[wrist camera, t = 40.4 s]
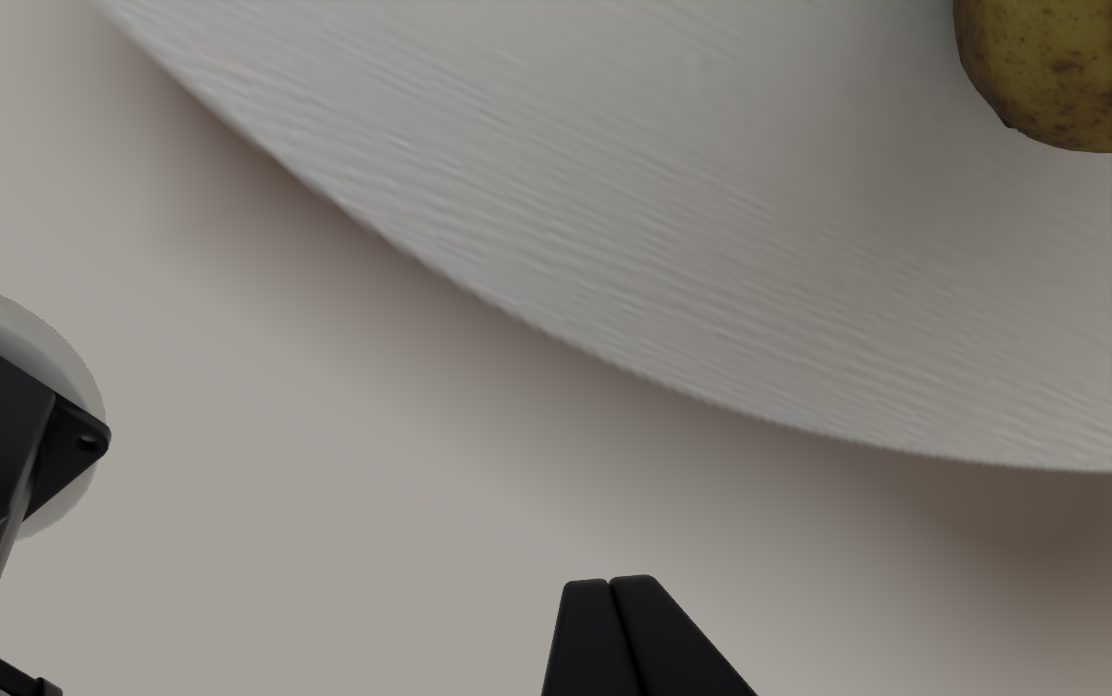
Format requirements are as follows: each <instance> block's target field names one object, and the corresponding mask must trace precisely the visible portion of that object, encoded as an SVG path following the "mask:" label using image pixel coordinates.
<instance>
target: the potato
mask: <svg viewBox="0 0 1112 696" xmlns="http://www.w3.org/2000/svg"><path fill="white" fill-rule="evenodd" d="M953 17H954V26H955V34H956V41H957V46H958V51H959V56H960V61H961V64H962V66H963V68H964V70H965V72H966V73H967V75H968V77H969V79H970V81H971V82H972V84H973V85H974V87H975V88H976V90H977V91H978V92H979V93H980V95H981V96H982V97H983V98H984V99H985V100H986V101H987V103H988V104H989V105H990V106H991V107H992V108H993V110H994V111H995V112H996V114H997V115H998V117H999V118H1000V119H1001V121H1002V122H1003V123H1004V125H1005V126H1006V127H1007V128H1013V129H1017V130H1018V132H1021V133H1023V134H1024V135H1026V136H1027V137H1029V138H1031V139H1033V140H1036V141H1039V142H1042V143H1045V144H1047V145H1050V146H1053V147H1057V148H1062V149H1066V150H1071V151H1082V152H1093V153H1112V0H953Z"/></svg>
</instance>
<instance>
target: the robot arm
mask: <svg viewBox="0 0 1112 696" xmlns="http://www.w3.org/2000/svg"><path fill="white" fill-rule="evenodd" d="M81 436H89V437H91V438H94V439H95V440H96V441H86V440H83V439H82V438H81ZM110 441H111V431H110V429H109V427H108V426H107V425H106V424H105V423H103V422H102V421H100V420H99V419H97V418H96V417H94V416H93V415H91V414H90V413H88V412H86V411H85V410H83V409H82V408H80V407H79V406H77V405H76V404H74V403H73V402H71V401H69V400H68V399H66V398H65V397H63V396H62V395H60V394H59V393H57V392H56V391H54V390H52V389H51V388H49V387H48V386H46V385H45V384H43V383H42V382H40V381H39V380H37V379H36V378H34V377H32V376H31V375H29V374H28V373H26V372H25V371H23V370H22V369H20V368H19V367H17V366H15V365H14V364H12V363H11V362H9V361H8V360H6V359H5V358H3V357H2V356H0V578H1V575H2V572H3V570H4V567H5V564H6V562H7V559H8V557H9V554H10V551H11V549H12V546H13V544H14V541H15V538H16V536H17V533H18V531H19V528H20V525H21V523H22V522H24V521H25V520H26V519H27V518H28V517H30V516H31V515H32V514H33V513H34V512H36V511H37V510H38V509H39V508H40V507H42V506H43V505H44V504H45V503H46V502H48V501H49V500H50V499H51V498H53V497H54V496H55V495H56V494H57V493H59V492H60V491H61V490H62V489H63V488H65V487H66V486H67V485H68V484H69V483H71V482H72V481H73V480H74V479H76V478H77V477H78V476H79V475H80V474H82V473H83V472H84V471H85V470H86V469H88V468H89V467H90V466H91V465H92V464H94V463H95V462H96V461H97V460H99V459H100V458H101V457H102V456H103V455H104V454H105V453H106V451H107V450H108V447H109V444H110ZM0 696H63V693H62V689H60V688H59V687H57V686H55V685H54V684H52V683H51V682H49V681H47V680H45V679H44V678H42V677H39V678H36V679H34V678H32V677H30V676H29V675H27V674H25V673H24V672H22V671H20V670H19V669H17V668H15V667H14V666H12V665H10V664H9V663H7V662H5V661H3V660H1V659H0ZM541 696H758V695H757V694H756V693H755V692H754V691H753V690H752V689H751V687H750V686H749V685H748V684H747V683H746V682H745V681H744V679H743V678H742V677H741V676H740V675H739V674H738V672H737V671H736V670H735V669H734V668H733V667H732V666H731V664H730V663H729V662H728V661H727V660H726V659H725V658H724V656H723V655H722V654H721V653H720V652H719V651H718V650H717V649H716V647H715V646H714V645H713V644H712V643H711V642H710V640H708V638H707V637H706V636H705V635H704V634H703V632H702V631H701V630H700V629H699V628H698V627H697V626H696V624H695V623H694V622H693V621H692V620H691V619H690V618H689V616H688V615H687V614H686V613H685V612H684V611H683V610H682V608H681V607H680V606H679V605H678V604H677V603H676V602H675V600H674V599H673V598H672V597H671V596H670V595H669V594H668V592H667V591H666V590H665V589H664V588H663V587H662V586H661V584H660V583H659V582H658V581H657V580H656V579H655V578H654V577H652V576H649V575H634V576H622V577H615V578H612V579H611V580H610V581H609V583H607V581H606V580H604V579H590V580H579V581H570V582H568V583H566V584H565V586H564V589H563V592H562V597H561V602H560V607H559V612H558V616H557V621H556V626H555V631H554V636H553V640H552V645H551V650H550V655H549V659H548V664H547V669H546V674H545V679H544V683H543V688H542V693H541Z"/></svg>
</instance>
